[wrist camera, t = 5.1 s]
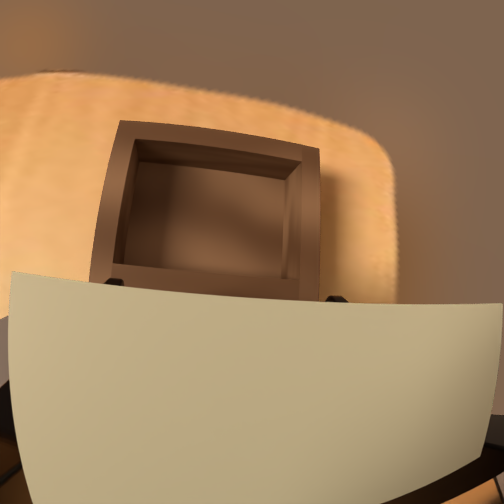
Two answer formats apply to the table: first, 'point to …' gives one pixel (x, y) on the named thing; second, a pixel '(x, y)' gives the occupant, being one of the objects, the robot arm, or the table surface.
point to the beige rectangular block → (242, 395)
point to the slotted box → (209, 213)
